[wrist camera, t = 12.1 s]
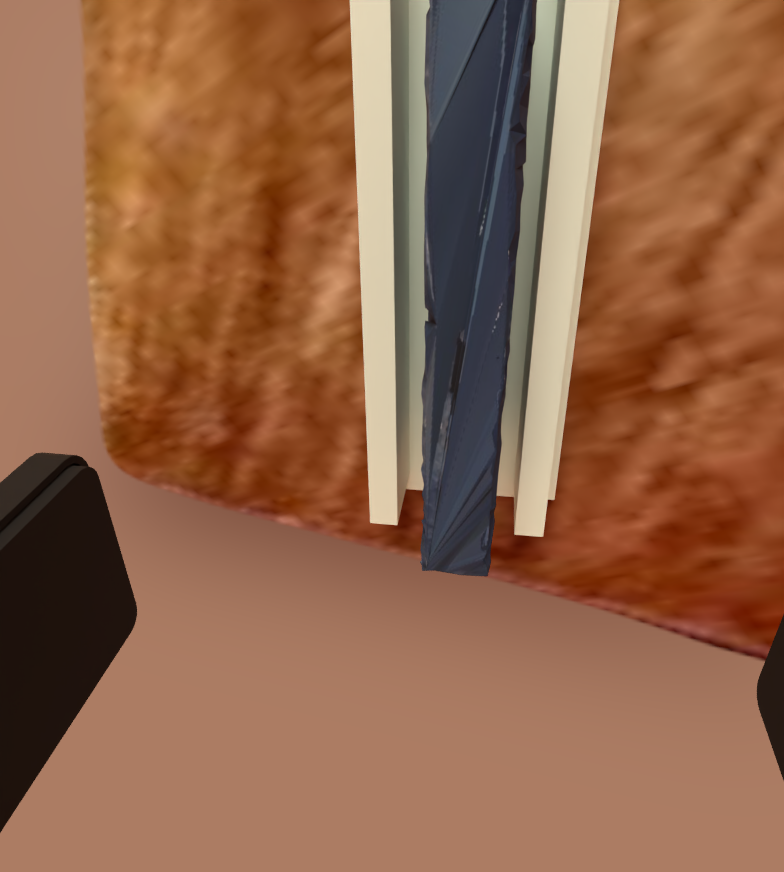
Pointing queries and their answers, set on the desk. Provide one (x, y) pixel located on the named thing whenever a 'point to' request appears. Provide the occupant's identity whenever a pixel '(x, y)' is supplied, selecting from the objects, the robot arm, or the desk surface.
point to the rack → (536, 256)
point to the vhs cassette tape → (470, 263)
